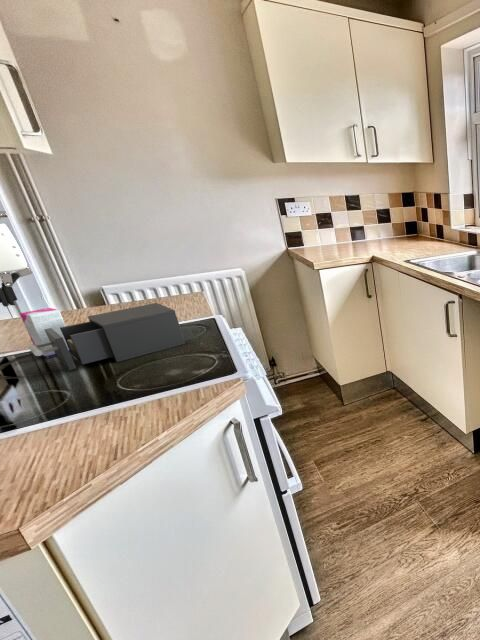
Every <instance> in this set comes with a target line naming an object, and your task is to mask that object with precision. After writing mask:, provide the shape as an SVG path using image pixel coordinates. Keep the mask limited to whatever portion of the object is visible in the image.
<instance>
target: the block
mask: <svg viewBox="0 0 480 640" xmlns="http://www.w3.org/2000/svg"><path fill="white" fill-rule="evenodd" d="M67 342H68V344H69V346H70V349H71V351H72V353H73V355H74V356H76V357H77V358H79V356H78V354H77V351H76V349H75V347H74V345H73V342H72V340H71V339H69V340H67ZM73 355H72V356H73ZM74 356H73V357H74Z"/></svg>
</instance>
